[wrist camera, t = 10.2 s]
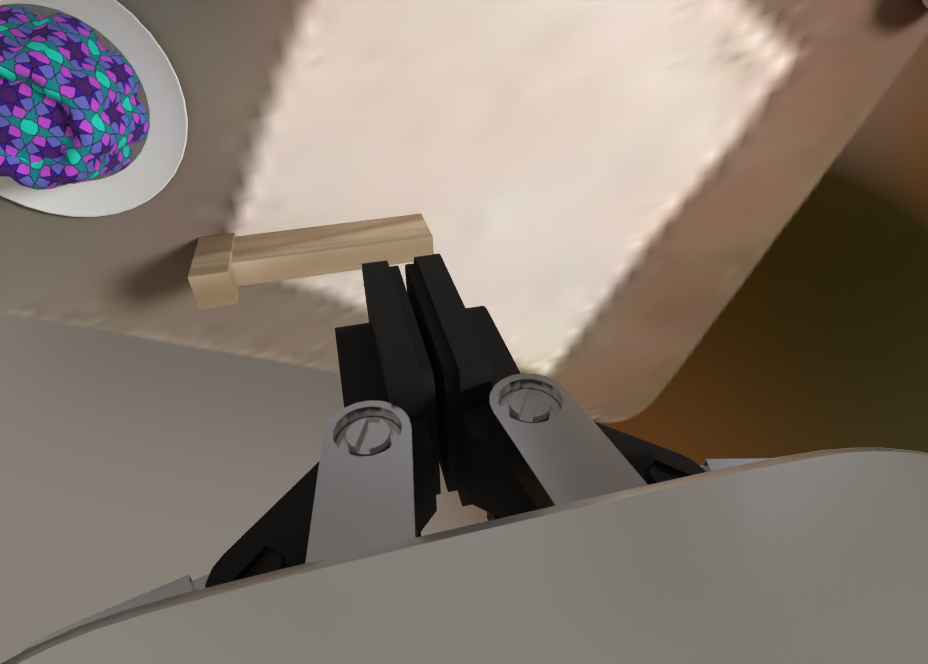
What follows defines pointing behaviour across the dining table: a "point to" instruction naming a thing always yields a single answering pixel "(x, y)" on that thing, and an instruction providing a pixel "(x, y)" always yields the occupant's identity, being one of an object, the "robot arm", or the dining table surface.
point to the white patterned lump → (925, 3)
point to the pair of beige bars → (301, 254)
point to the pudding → (84, 109)
